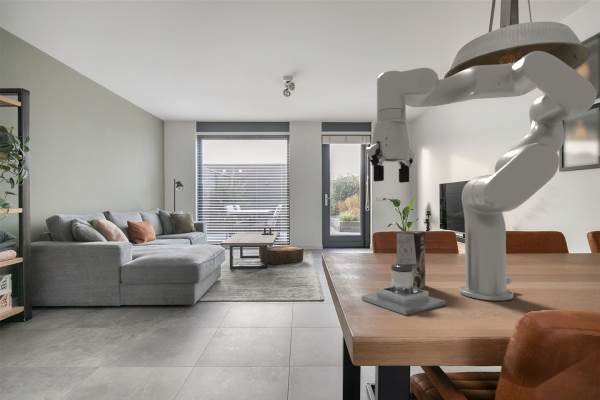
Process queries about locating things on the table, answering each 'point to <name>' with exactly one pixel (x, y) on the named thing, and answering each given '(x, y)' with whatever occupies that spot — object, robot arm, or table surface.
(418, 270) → the coffee box
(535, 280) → the table surface
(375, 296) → the collar
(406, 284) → the grey jar with lid
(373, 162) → the robot arm
